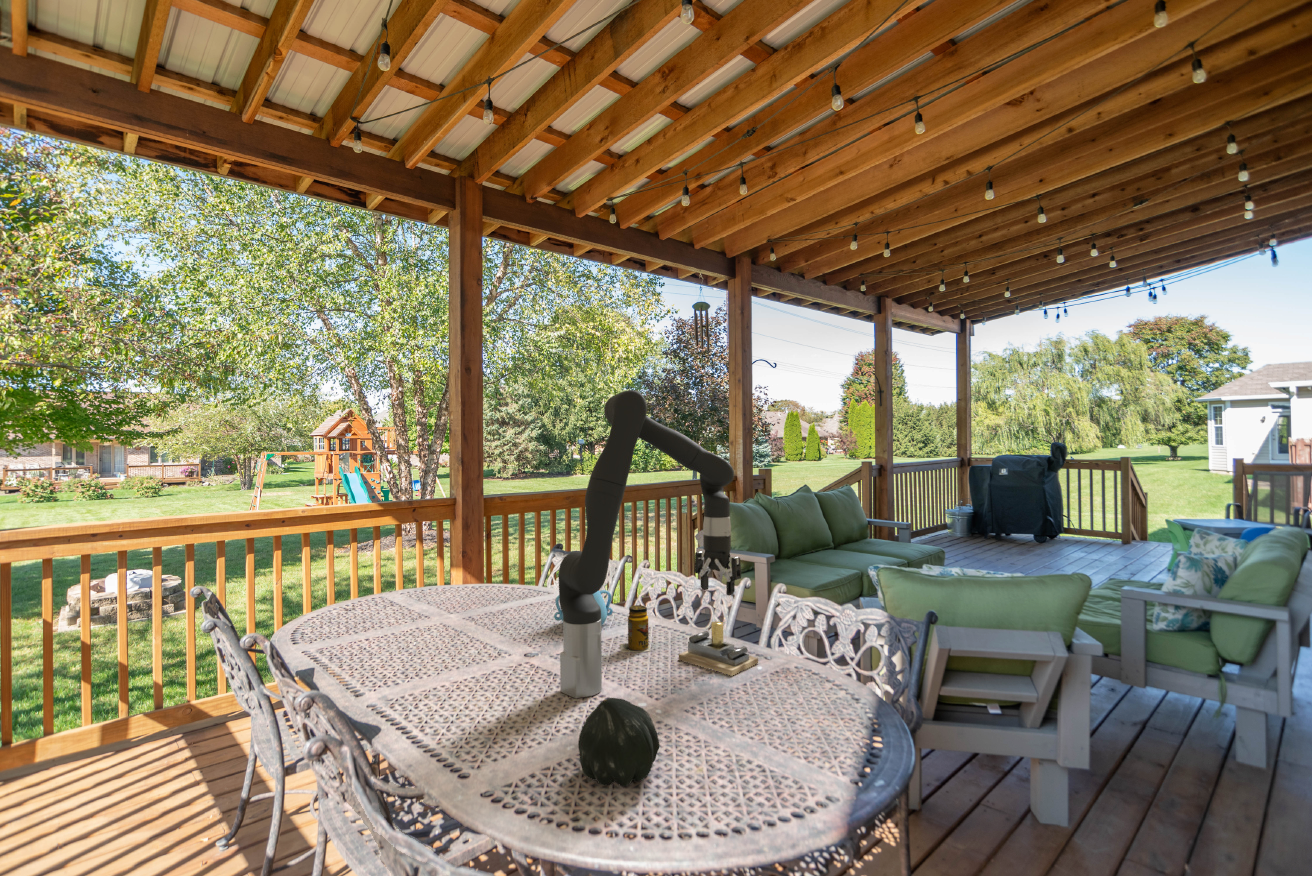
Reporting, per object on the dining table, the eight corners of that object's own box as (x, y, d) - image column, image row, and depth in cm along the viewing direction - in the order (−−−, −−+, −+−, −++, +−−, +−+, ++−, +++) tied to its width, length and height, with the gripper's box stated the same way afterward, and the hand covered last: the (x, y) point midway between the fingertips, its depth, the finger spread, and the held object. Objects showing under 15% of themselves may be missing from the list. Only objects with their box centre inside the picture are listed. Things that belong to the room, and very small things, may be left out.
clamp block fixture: (731, 676, 156) (731, 651, 156) (678, 659, 168) (678, 636, 168) (758, 663, 164) (757, 640, 164) (705, 648, 177) (705, 627, 177)
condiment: (651, 651, 175) (650, 609, 175) (621, 653, 174) (621, 611, 174) (648, 643, 182) (647, 603, 183) (620, 644, 181) (619, 604, 181)
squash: (670, 723, 118) (618, 668, 117) (676, 767, 103) (616, 704, 102) (616, 772, 118) (564, 717, 117) (614, 824, 103) (554, 761, 102)
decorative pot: (550, 620, 207) (549, 580, 207) (606, 615, 213) (605, 576, 213) (558, 638, 188) (558, 594, 188) (620, 631, 194) (619, 589, 194)
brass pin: (718, 658, 164) (718, 625, 164) (709, 656, 166) (709, 623, 166) (725, 655, 166) (725, 622, 166) (716, 653, 169) (716, 620, 169)
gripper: (688, 532, 169) (688, 590, 168) (729, 537, 159) (730, 599, 159) (705, 529, 174) (705, 586, 174) (746, 534, 164) (746, 594, 164)
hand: (717, 592), depth 166 cm, fingers open, 8 cm apart
